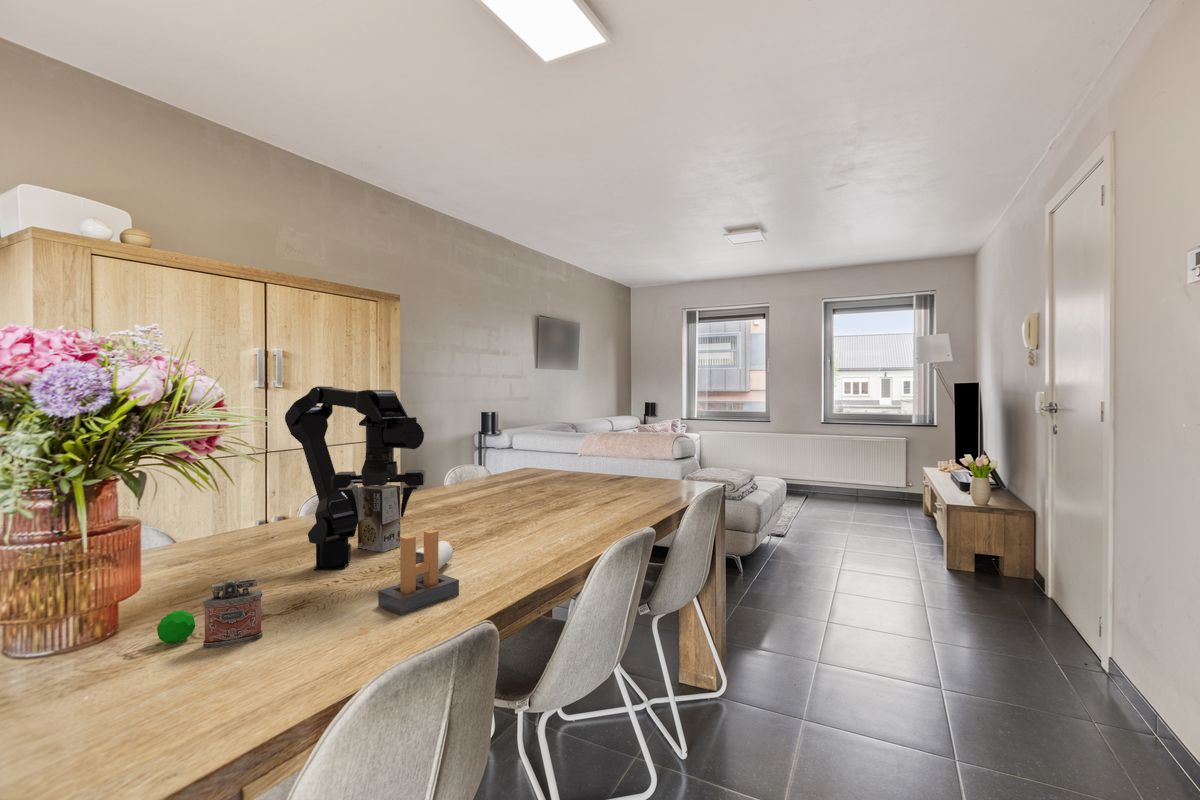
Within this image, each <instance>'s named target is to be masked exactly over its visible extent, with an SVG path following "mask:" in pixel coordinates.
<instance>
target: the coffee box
mask: <svg viewBox="0 0 1200 800" xmlns="http://www.w3.org/2000/svg"><path fill="white" fill-rule="evenodd" d="M358 498H359V522H358V524H357V549H358V548H362V549H361V550H365V549H367V550H366V551H372V550H374V551H373V552H378V551H379V552H380V553H384V552H387V551H391V550H394V549H397V548H396V547H398V548H400V547H399V546H400V537H401V485H395V484H386V485H383V486H379V485H370V486H363V485H362V486H359V487H358ZM379 552H378V553H379Z"/></svg>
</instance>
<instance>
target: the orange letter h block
mask: <svg viewBox="0 0 1200 800" xmlns="http://www.w3.org/2000/svg"><path fill="white" fill-rule="evenodd" d="M438 541H439V531H438V530H435V529H430V530H424V531H423V547H424V562H423V563H419V564H416V549H417V547H416V546H417V537H416V536H415V535H411V534H408V535H403V536H400V547H399V549H400V559H399V561H400V562H399V563H400V569H399V570H400V579H399V580H400V583H399V584H400V593H403V594H407V593H410V592H413V591H416V575H418V574H421V573H424V585H426V586H432V585H435V584H438V573H439V571H438Z"/></svg>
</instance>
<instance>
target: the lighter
mask: <svg viewBox="0 0 1200 800" xmlns="http://www.w3.org/2000/svg"><path fill="white" fill-rule="evenodd" d="M211 586H212V587H211V592H212V595H213V596H212V595H211V596H209V597H206V598H204V599H202V605H203V607H204V639H203V645H202V647H203V649H205V650H211V649H219V648H220V649H221V648H225V647H226V648H227V647H233V646H238V645H242V644H243V645H244V644H248V643H252V642H256V641H259V640H260V639H262V638H263V636H264V635H263V630H262V598H263V590H261V589H258V590H249V588H250V589H251V588H256V587H258V579H257V578H256V577H252V578H244V579H240V580H239V581H236V579H233V578H230V579H227V580H226V582H222V583H214V584H212V585H211ZM241 590H242V591H241ZM220 592H221V593H220Z"/></svg>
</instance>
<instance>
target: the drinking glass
mask: <svg viewBox="0 0 1200 800" xmlns="http://www.w3.org/2000/svg"><path fill="white" fill-rule="evenodd" d="M453 554H454V549H453V546H452V544H451V543H450V542H448V541H446V540H438V572H439V571H440V569H442V567H444V566H445V564H447V563H448V562H449V561H450V560H452V558H453ZM423 562H424V546H421V547H419V548H416V564H419V563H423ZM421 577H424V573H421V574H418V575H416V579H418V578H421Z"/></svg>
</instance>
